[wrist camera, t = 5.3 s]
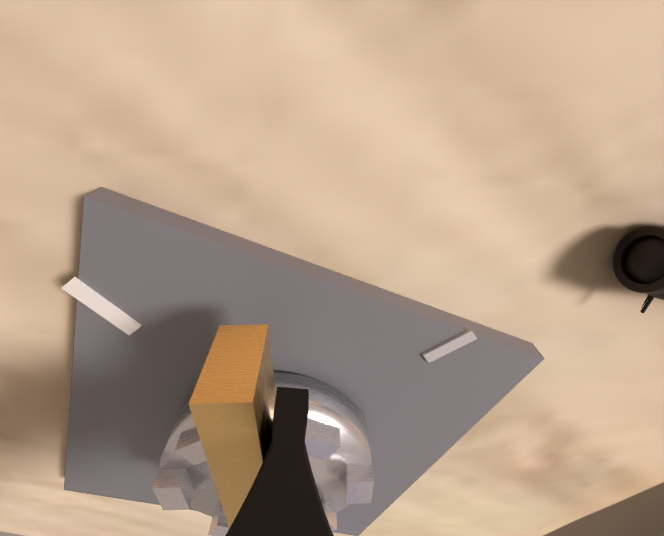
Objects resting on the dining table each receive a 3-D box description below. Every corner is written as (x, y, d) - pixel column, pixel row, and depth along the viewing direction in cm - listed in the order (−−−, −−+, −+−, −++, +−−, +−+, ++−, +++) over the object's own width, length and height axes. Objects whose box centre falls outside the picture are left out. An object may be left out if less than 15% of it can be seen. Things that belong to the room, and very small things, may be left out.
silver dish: (361, 483, 20) (373, 594, 16) (197, 488, 20) (163, 604, 15) (383, 289, 13) (416, 398, 8) (121, 292, 12) (15, 407, 8)
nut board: (356, 520, 25) (358, 538, 24) (66, 471, 21) (53, 491, 20) (535, 340, 16) (549, 358, 15) (87, 177, 11) (65, 186, 10)
